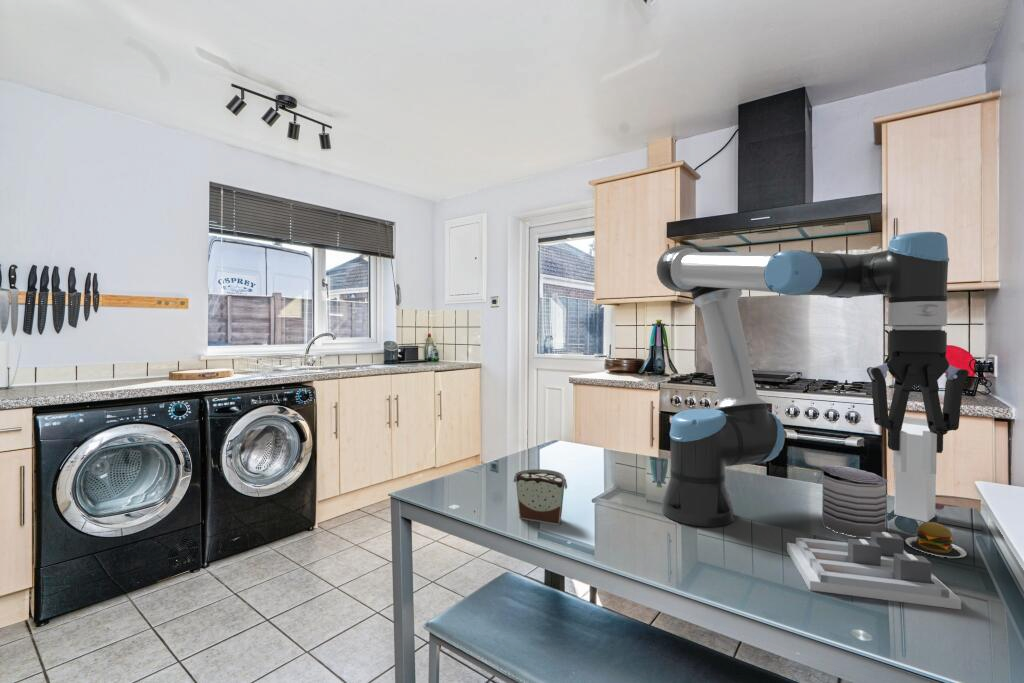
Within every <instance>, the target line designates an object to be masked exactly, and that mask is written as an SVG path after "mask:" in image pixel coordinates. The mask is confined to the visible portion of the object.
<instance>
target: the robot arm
mask: <svg viewBox="0 0 1024 683" xmlns="http://www.w3.org/2000/svg"><path fill="white" fill-rule="evenodd" d="M948 248H949V246H948V237H947V236H946V235H945V234H944V233H943V232H939V231H918V232H910V233H909V232H907V233H903V234H898V235H895V236H892V237H891V238H890V239H889V243H888V247H887V249H886V250H883V251H878V252H870V253H862V254H861V253H860V254H851V253H850V254H849V253H835V252H834V253H833V252H816V251H806V250H798V249H791V250H783V251H737V250H735V249H733V248H728V247H724V246H697V245H689V244H688V245H687V244H686V245H685V244H682V245H681V244H680V245H676V246H672V247H670V248H669V249H666V250H665V251H664V252H663V253H662V254H661V255H660V257H659V259H658V261H657V264H656V275H657V279H658V280H659V282H660V283H661V284H662V285H663V286H664V287H665V288H667V289H668V290H670V291H672V292H673V291H674V292H679V293H691V299H692V304H693V305H695V306H696V307H698V308H700V310H701V315H702V321H703V326H704V331H705V337H706V343H707V346H708V351H709V358H710V361H711V368H712V373H713V377H714V383H715V387H716V392H717V399H718V402H717V404H716V405H715V407H713V408H692V409H686V410H682V411H680V412H678V413H676V414H674V415H673V416H672V418H671V421H670V429H669V430H670V431H669V437H670V449H669V450H670V459H669V461H670V462H669V463H670V464H669V465H670V471H669V472H670V473H669V474H670V476H669V477H670V478H669V481H668V484H667V487H666V490H665V492H664V495H663V498H662V502H661V504H662V505H661V507H662V509H661V510H662V511H661V512H662V514H663V515H664V516H665V517H667V518H668V519H670V520H673V521H675V522H678V523H681V524H685V525H689V526H695V527H703V528H704V527H708V528H709V527H710V528H711V527H713V528H714V527H723V526H726V525H729V524H732V522H733V521H734V507H733V504H732V501H731V498H730V495H729V492H728V488H727V485H726V467H732V466H741V465H750V464H752V465H755V464H756V465H758V464H762V463H764V462H769V461H772V460H774V459H775V458H776V457H778V456H779V454H780V452H781V451H782V450H783V447H784V444H785V438H786V436H785V429H784V425H783V423H782V421H781V420H780V419H779V418H777V417H778V416H777V415H775V414H774V413H772V412H770V411H769V409H768V404H767V401H765V400H763V399H762V398H760V396H758V393H757V388H756V383H755V379H754V375H753V368H752V365H751V360H750V356H749V351H748V347H747V342H746V338H745V333H744V327H743V323H742V319H741V313H740V309H739V304H738V300H739V299H740V298H741V296H742V295H743V291H752V292H753V291H754V292H756V291H757V292H764V293H765V292H766V293H776V294H779V295H780V294H781V295H784V296H827V297H828V298H834V299H835V298H838V299H851V298H853V297H857V298H858V297H867V296H876V295H879V296H880V295H887V298H888V300H887V301H888V306H887V307H888V309H887V311H888V312H887V313H888V314H887V326H888V327H891V329H892V330H889V331H888V332H887V357H886V359H885V360H884V363H882V364H880V365H876V366H874V367H873V366H869V367H867V368H866V374H867V375H868V377H869V379H870V381H871V392H872V393H871V394H872V395H871V396H872V407H873V421H874V424H875V425H878V426H879V427H882V428H884V429H886V430H887V447H888V449H889V450H891V451H893V469H894V470H895V469H896V470H898V471H900V472H905V473H906V469H907V433H906V432H904V431H901V429H902V424H903V420H904V417H905V414H906V409H907V406H908V403H909V402H908V401H909V396H910V394H911V393H910V392H912V389H913V386H919V390H920V391H921V396H922V400H923V406H924V411H925V417H926V419H927V423H928V428H929V430H930V432H929V431H923V447H922V470H924V471H926V472H927V473H929V474H935V475H936V476H937V454H942V453H943V451H944V435H946V434H948V432H950V431H958V429H959V427H960V419H961V418H960V417H961V410H962V409H961V408H962V401H963V400H962V398H963V390H964V389H963V388H964V384H965V382H966V380H967V379H968V377H969V374H970V372H969V371H968V369H963V368H958V367H955V366H953V365H951V364H950V361H949V360H948V359H947V356H946V355H947V350H948V349H947V347H948V346H947V344H948V343H947V340H948V332H947V331H946V330H943V327H946V326H947V325H948V295H947V294H948V273H949V272H948V271H949V270H948V269H949V262H950V258H949V249H948ZM888 373H890V375H891V376H892V377H893V378H894V381H893V382H894V383H893V389H894V390H893V394H892V398H891V402H890V408H888V395H887V394H888V392H887V382H886V378H887V376H888ZM944 374H945V375H944ZM943 375H944V376H945V378H946V381H945V385H944V394H943V403H942V406H943V407H942V406H941V402H940V395H939V391H940V387H939V382H938V381H939V379H940V378H941V377H942V376H943Z"/></svg>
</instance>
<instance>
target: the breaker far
mask: <svg viewBox="0 0 1024 683" xmlns="http://www.w3.org/2000/svg"><path fill="white" fill-rule="evenodd" d="M870 541H875V542H876V543H877V544H878V545H879V546H880V547H881V556H888V557H894V553H896V554H904V550H905V549H904V544H905V539H904V538H902V537H901V535H899V534H897V533H892V532H891V533H889V532H882V533H880V532H871V539H870Z"/></svg>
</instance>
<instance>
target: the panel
mask: <svg viewBox="0 0 1024 683" xmlns="http://www.w3.org/2000/svg"><path fill="white" fill-rule="evenodd" d="M786 551H787V553H788V555H789V556H790V558H791V560H792V562H793V564H794V565H795V567H796V568H797V570H798V572H799V574H800V576H801V577H802V578H803V581H804V583H805V584H806V586H807V587H808V589H809V590H810V591H813V592H820V593H821V592H822V593H828V594H829V593H830V594H838V595H847V596H853V597H862V598H867V599H868V598H869V599H877V600H884V601H892V602H899V603H900V602H901V603H907V604H914V605H923V606H930V607H940V608H947V609H953V610H954V609H955V610H962V598H960V597H959V596H958V595H957V594H956V593H954V592H953V591H952V590H951V589H950V588H949V587H947V586H946V584H944V582H942V581H941V580H940V579H938V578H937V577H936V575H934V574H933V573H932V572H931V584H928V583H920V582H911V581H903V580H895V579H894V578H893V571H894V557H888V556H881V566H874V565H865V564H856V563H849V562H848V542H843V541H834V540H825V539H814V538H806V537H805V538H804V537H795V543H793V542H792V543H791V542H786ZM904 554H909V552H907V551H906V550H905V549H904Z"/></svg>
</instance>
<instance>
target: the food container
mask: <svg viewBox="0 0 1024 683" xmlns="http://www.w3.org/2000/svg"><path fill="white" fill-rule="evenodd" d="M513 477H514V478H513V483H515V484H516V485H515V486H516V495H517V496H516V497H517V507H518V515H519V520H526V521H533V522H538V523H545V524H550V525H556V526H560V525H561V522H562V514H563V512H562V511H563V502H564V495H565V494H564V493H565V490H567V489H568V482H567V479H566V477H565V475H564V473H562V472H559V471H556V470H551V469H542V468H541V469H540V468H539V469H537V468H535V469H526V470H519V471H518V472H515V474H514V476H513Z"/></svg>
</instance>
